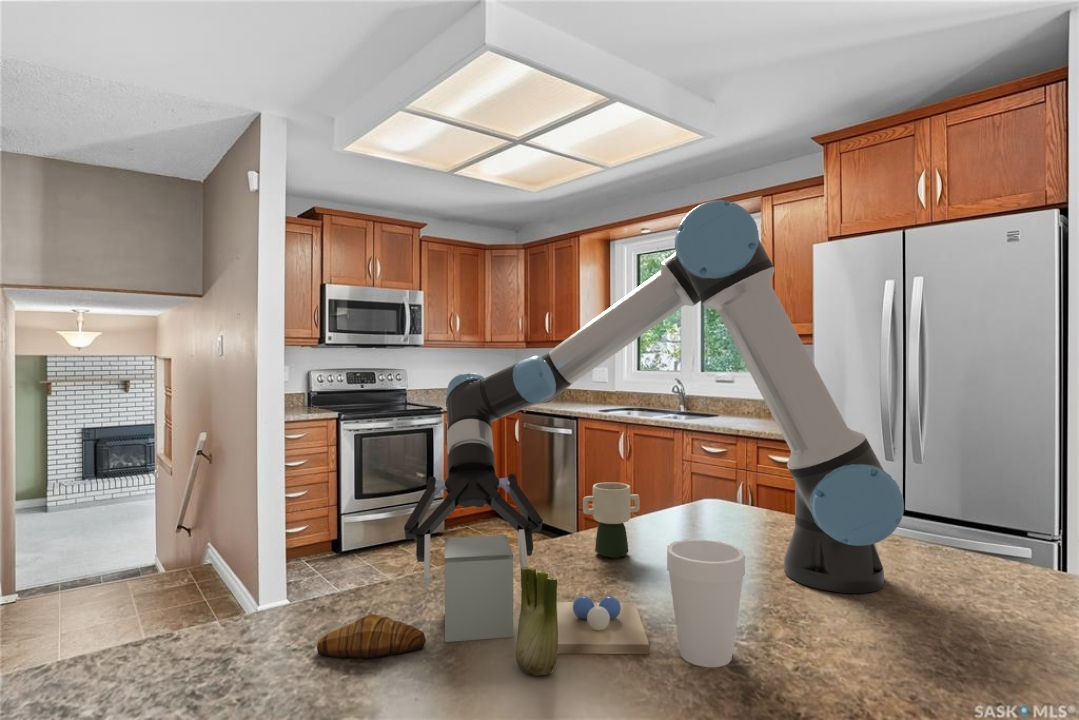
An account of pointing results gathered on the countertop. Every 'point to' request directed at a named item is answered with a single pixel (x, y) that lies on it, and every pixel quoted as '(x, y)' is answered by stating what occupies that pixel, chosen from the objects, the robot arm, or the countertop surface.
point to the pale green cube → (478, 588)
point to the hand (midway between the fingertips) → (476, 579)
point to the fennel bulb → (537, 623)
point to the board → (601, 632)
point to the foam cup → (706, 598)
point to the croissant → (371, 639)
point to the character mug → (611, 516)
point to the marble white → (598, 618)
